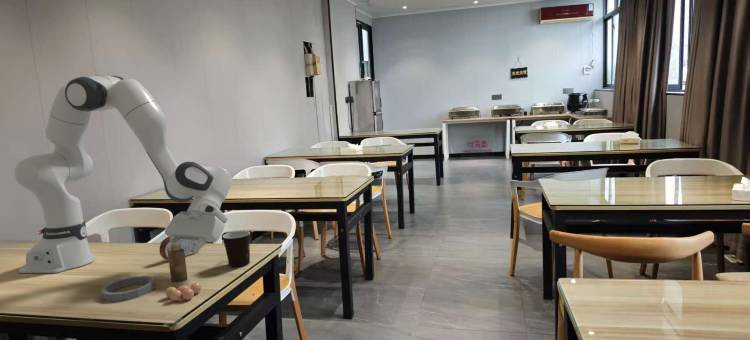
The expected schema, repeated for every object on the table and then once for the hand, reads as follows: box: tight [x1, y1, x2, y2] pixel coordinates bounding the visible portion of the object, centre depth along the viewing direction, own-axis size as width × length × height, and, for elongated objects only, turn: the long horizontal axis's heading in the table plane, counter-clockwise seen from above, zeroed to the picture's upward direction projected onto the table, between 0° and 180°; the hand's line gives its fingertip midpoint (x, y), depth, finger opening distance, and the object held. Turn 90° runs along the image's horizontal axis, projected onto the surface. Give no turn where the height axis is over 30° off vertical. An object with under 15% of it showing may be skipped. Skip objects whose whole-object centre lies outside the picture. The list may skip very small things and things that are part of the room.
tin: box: [159, 236, 199, 261], centre depth 170 cm, size 15×3×8 cm, turn 144°
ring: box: [101, 275, 155, 302], centre depth 141 cm, size 13×13×2 cm
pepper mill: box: [168, 243, 188, 283], centre depth 148 cm, size 5×5×12 cm
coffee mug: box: [222, 230, 251, 269], centre depth 160 cm, size 12×9×10 cm
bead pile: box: [165, 282, 202, 302], centre depth 134 cm, size 9×7×3 cm
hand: (182, 251), depth 149 cm, fingers open, 8 cm apart
